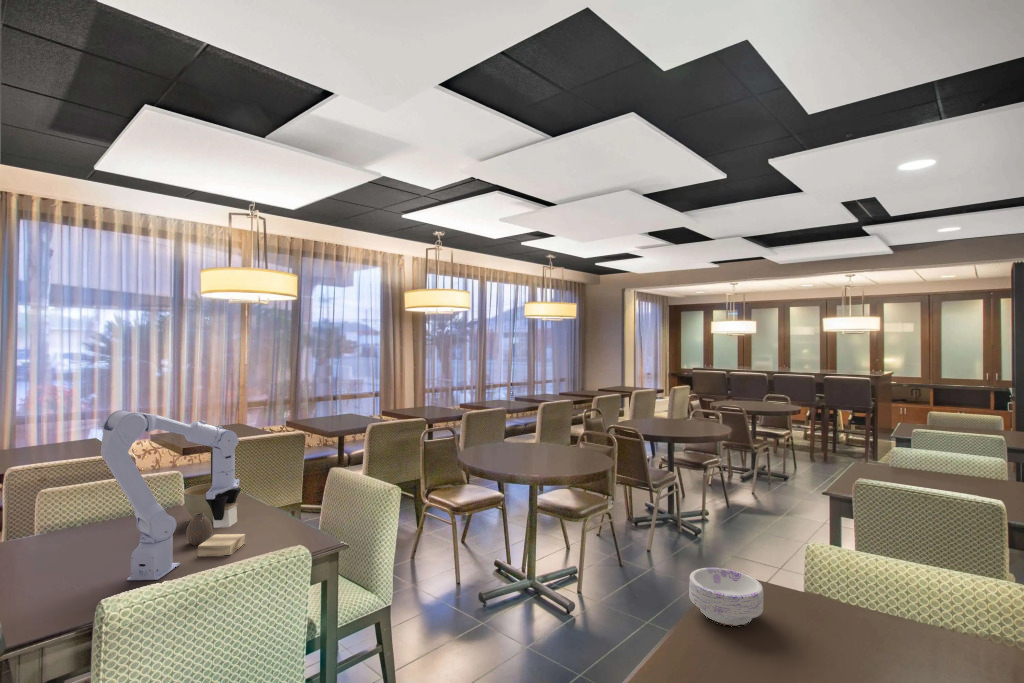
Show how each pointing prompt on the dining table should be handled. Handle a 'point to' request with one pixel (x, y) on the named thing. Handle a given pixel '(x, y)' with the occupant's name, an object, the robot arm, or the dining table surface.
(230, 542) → the block
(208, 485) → the planter bowl
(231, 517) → the framed cream cube
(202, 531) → the vase
